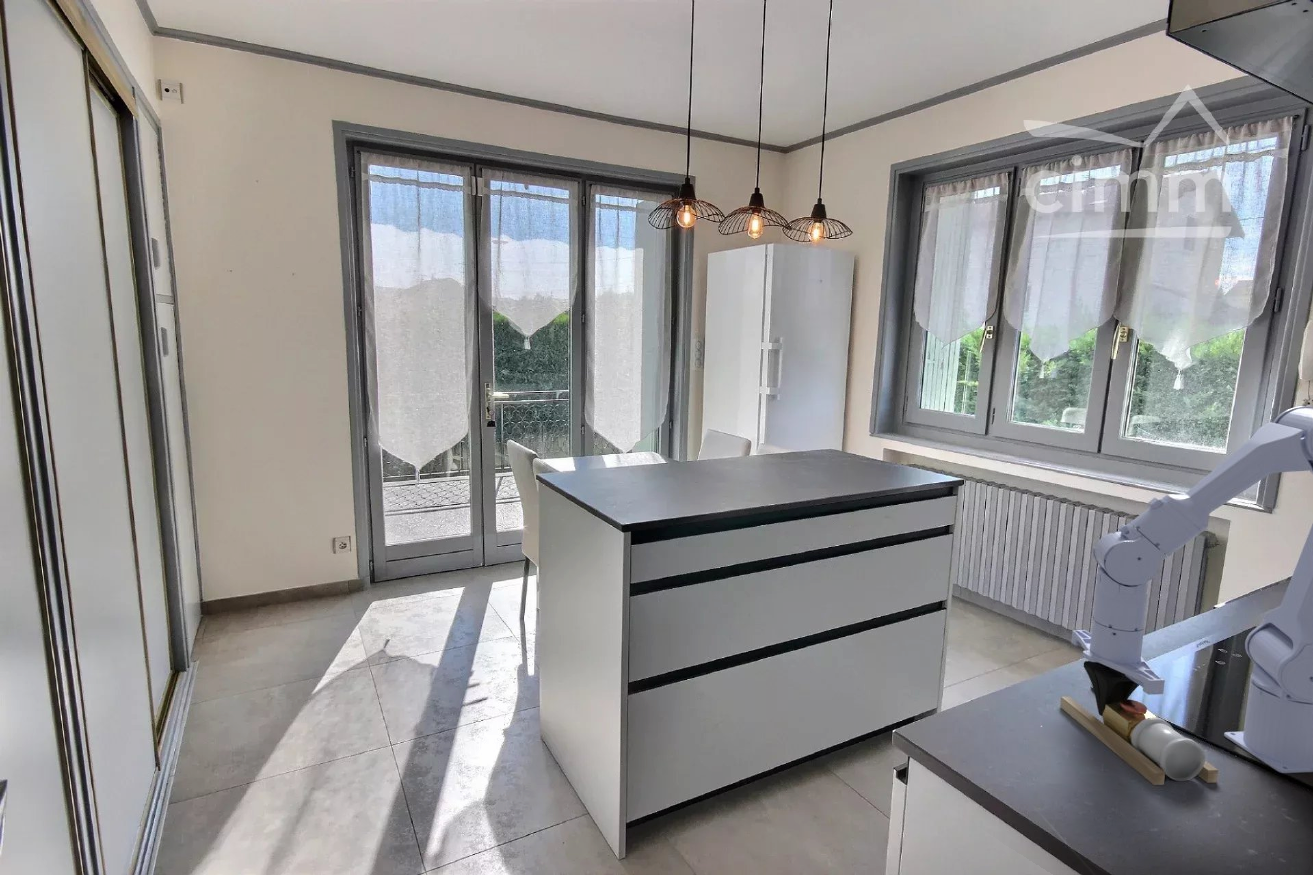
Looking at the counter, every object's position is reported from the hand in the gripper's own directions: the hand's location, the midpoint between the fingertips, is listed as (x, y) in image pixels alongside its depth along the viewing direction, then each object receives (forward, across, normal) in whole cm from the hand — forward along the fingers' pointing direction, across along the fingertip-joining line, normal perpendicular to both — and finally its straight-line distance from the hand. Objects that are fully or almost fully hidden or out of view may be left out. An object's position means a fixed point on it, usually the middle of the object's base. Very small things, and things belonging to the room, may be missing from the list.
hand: (1108, 716), depth 91 cm
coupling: (+1, +10, 0) cm, 10 cm away
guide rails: (+1, +4, 0) cm, 4 cm away
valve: (+1, +4, 0) cm, 4 cm away
